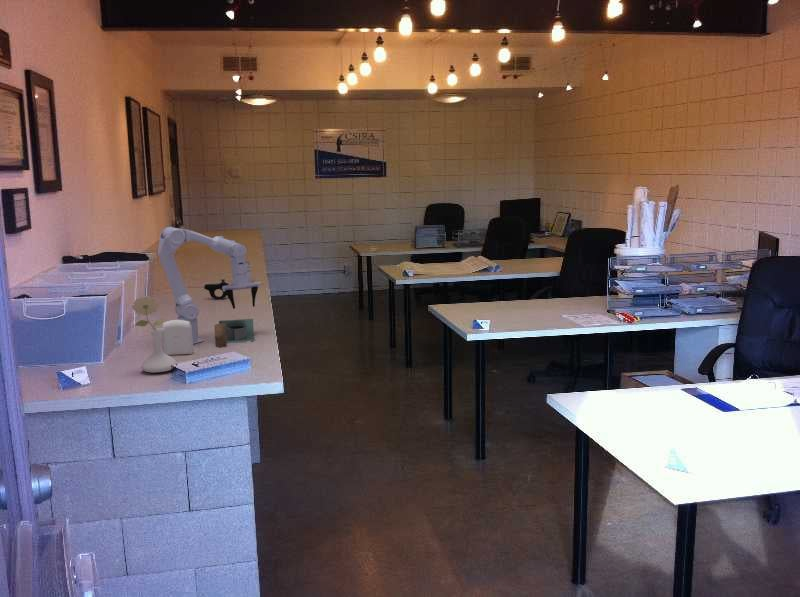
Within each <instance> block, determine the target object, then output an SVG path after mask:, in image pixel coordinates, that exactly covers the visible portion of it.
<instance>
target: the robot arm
mask: <svg viewBox="0 0 800 597" xmlns="http://www.w3.org/2000/svg"><path fill="white" fill-rule="evenodd" d="M158 237H159V242H158V249H157V256H158V259H159V262H160V263H161V266H162V268H163V271H164V274H165V277H166V279H167V282H168V284H169V287H170V289H171V291H172V294H173V296H174V299H173V300H174V303H175V304H174V305H175V308H174V310H175V313H176V315H177V320H185V321H189V322H190V324H191V327H192V340H193V345H194V344H198V343H201V342H204V341H205V340H204V339H201V338H199V323H198V317H199V313H200V311H199V308H198V306H197V305H196V304H195V303H194V301H193V299H192V297H191V296H190V294H189V293H188V290H187V287H186V284H185V282H184V280H183V277H182V275H181V274H182V273H180V269H179V267H178V264H177V262H176V259H175V257H174V255H175V253H176V251H177V250H178V248H180V247H181V246H182V245H183V243H187V242H191V241H192V242H197V243H199V244H201V245H202V244H203V245H207V246H209V247H210V249H211V250H212V251H213V252H217V253H219V254H223V255H225V256H229V259H230V266H231V273H232V284H229V285H226V286H222V289H223V292H224V291H226V297H227V298H228V299H229V301H230V304H231V306H232V309H234V310H235V309H236V304H235V299H234V291H239V290H249V289H251V290H250V291H251V292H250V293H251V299H252V300H251V301H252V308H253V307H254V308H255V303H256V296H257V293H258V290H259V289H260V288H261V282H260V281H257V282H256V281H255V282H252V283H248V276H247V267H246V262H247V261H246V256H247V255H248V254H247V253H248V249H246V246H245V245H244V244H243V243H238V242H236V240H233V239H230V240H229V239H226V238H224V236H223V235H219V236H214V237H210V236H207V235H204V234H202V233H199V232H197V231H194V230H191V229H185V228H179V227H173V226H167V227H165V228H164V229H162V231H161V233H160V234H159V236H158ZM223 292H222V293H223Z"/></svg>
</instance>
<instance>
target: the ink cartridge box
mask: <svg viewBox="0 0 800 597" xmlns="http://www.w3.org/2000/svg"><path fill="white" fill-rule="evenodd" d="M246 267H247V276H248V283H249V282H252V283H253V276H252V262H251V261H246Z"/></svg>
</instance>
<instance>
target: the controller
mask: <svg viewBox="0 0 800 597" xmlns="http://www.w3.org/2000/svg"><path fill="white" fill-rule="evenodd" d="M220 281H221V282H220V283H218V282H217V283H208V284H207V283H206V284H204V287H203V288H204V290H207V291H208V293H209V295H210V297H211V298H213V299H214V300H218V299H220V300H224V299H225V298H226V297H227V295H226V291H224V292H223V289H222V286H226V285H230V284H229V283H228V282H226V279H225V278H223V279H221V280H220ZM216 290H221V291H222V294H221V295H220V296H217V295H216V294H215V292H216Z"/></svg>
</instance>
